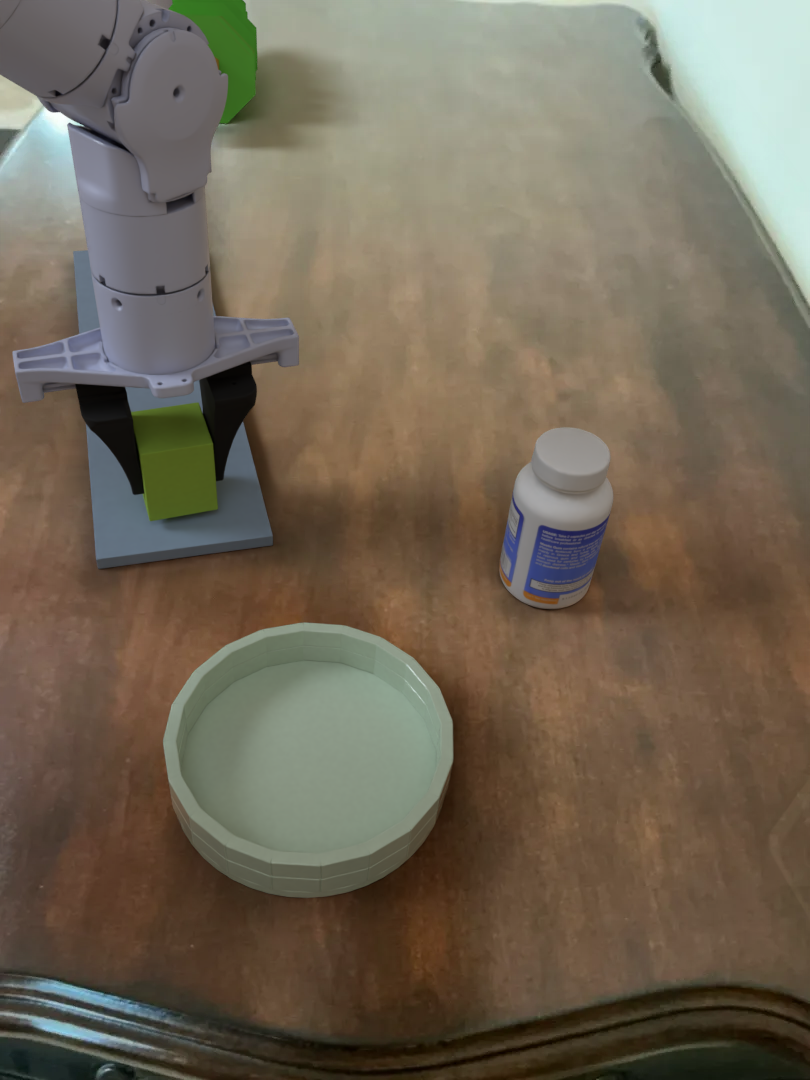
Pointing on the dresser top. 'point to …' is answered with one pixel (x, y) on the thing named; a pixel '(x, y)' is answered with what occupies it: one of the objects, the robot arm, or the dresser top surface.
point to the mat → (124, 514)
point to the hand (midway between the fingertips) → (175, 477)
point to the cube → (175, 461)
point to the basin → (308, 759)
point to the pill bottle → (557, 519)
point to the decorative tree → (227, 45)
